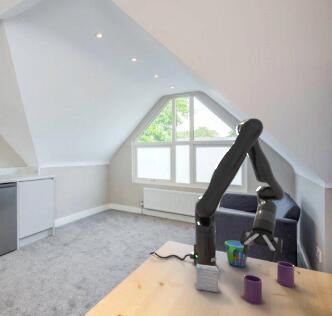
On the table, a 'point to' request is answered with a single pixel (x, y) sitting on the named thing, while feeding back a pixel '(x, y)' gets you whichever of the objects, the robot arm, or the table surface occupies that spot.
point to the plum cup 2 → (285, 274)
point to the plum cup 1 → (253, 289)
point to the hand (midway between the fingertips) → (257, 257)
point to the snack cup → (235, 253)
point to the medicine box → (207, 277)
